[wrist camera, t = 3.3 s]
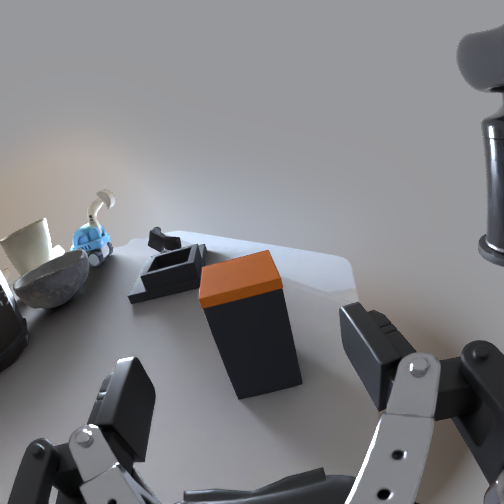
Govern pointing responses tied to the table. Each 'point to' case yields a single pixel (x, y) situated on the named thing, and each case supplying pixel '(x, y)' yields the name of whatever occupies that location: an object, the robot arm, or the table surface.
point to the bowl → (53, 280)
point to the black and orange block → (250, 324)
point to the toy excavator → (95, 231)
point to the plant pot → (29, 246)
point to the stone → (57, 251)
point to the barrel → (10, 327)
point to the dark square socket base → (169, 273)
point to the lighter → (163, 241)
